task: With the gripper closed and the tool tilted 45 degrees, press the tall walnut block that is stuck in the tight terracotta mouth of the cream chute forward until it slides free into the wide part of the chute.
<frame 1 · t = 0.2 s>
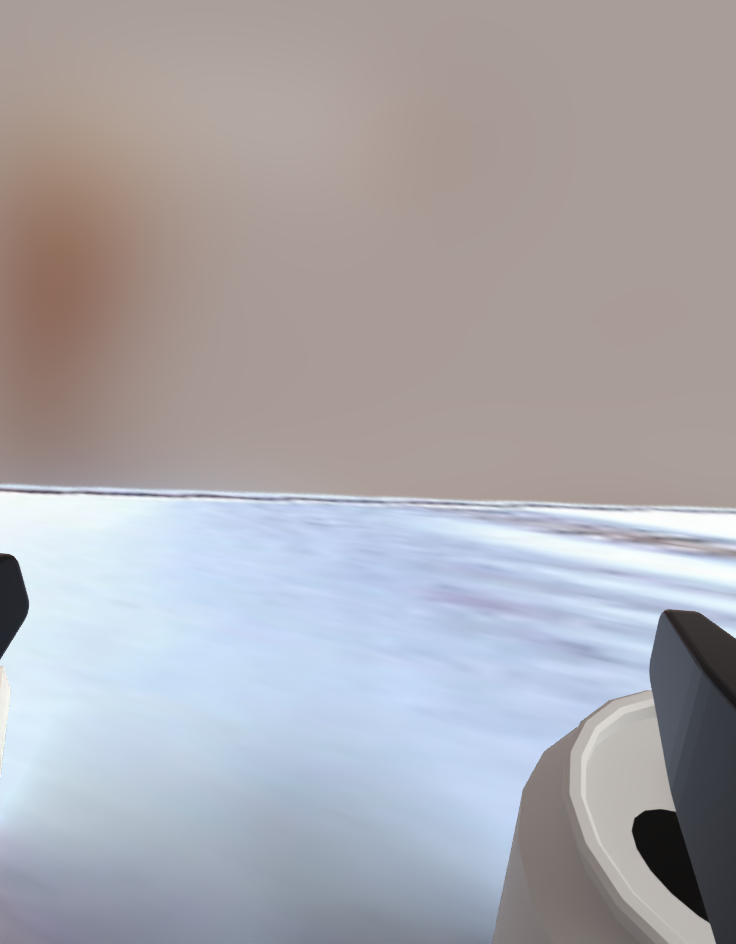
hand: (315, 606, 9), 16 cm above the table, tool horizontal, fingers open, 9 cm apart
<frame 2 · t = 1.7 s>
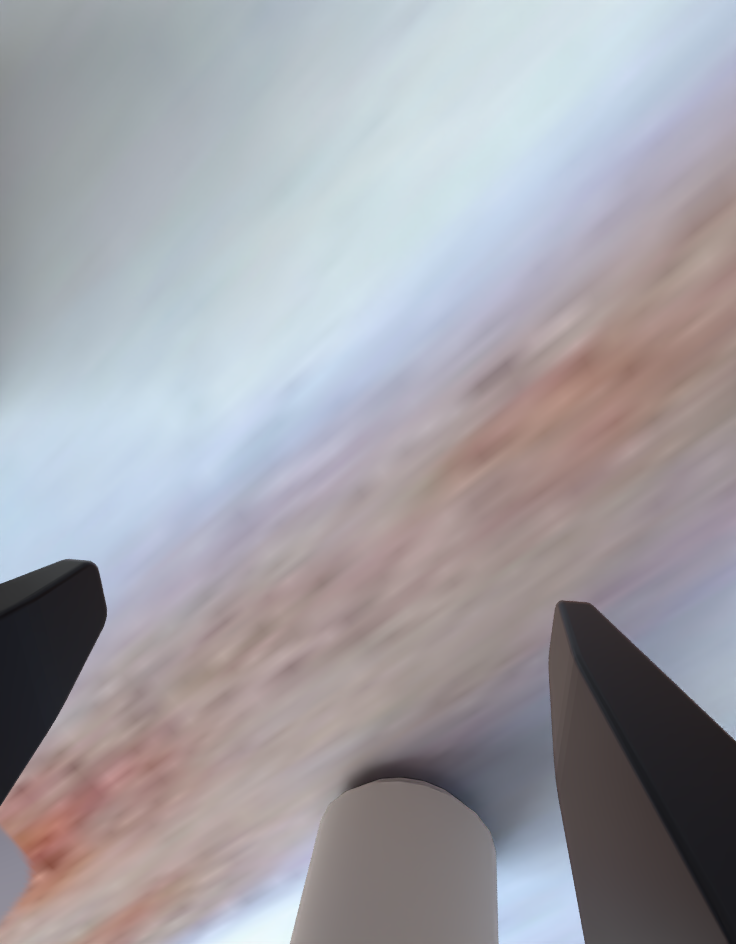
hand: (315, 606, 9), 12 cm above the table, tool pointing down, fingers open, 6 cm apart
can: (408, 822, 28), on the table
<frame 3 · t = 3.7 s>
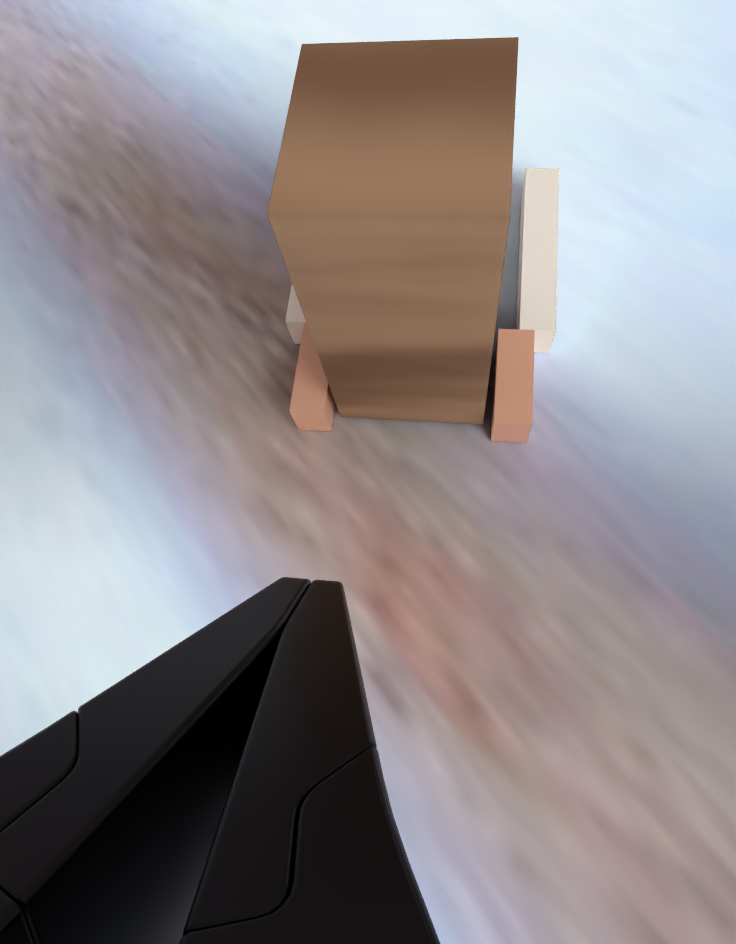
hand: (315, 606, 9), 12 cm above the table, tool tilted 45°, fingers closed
block: (409, 269, 19), point 5 cm above the table, slide at 0.0 cm
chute: (416, 360, 23), on the table
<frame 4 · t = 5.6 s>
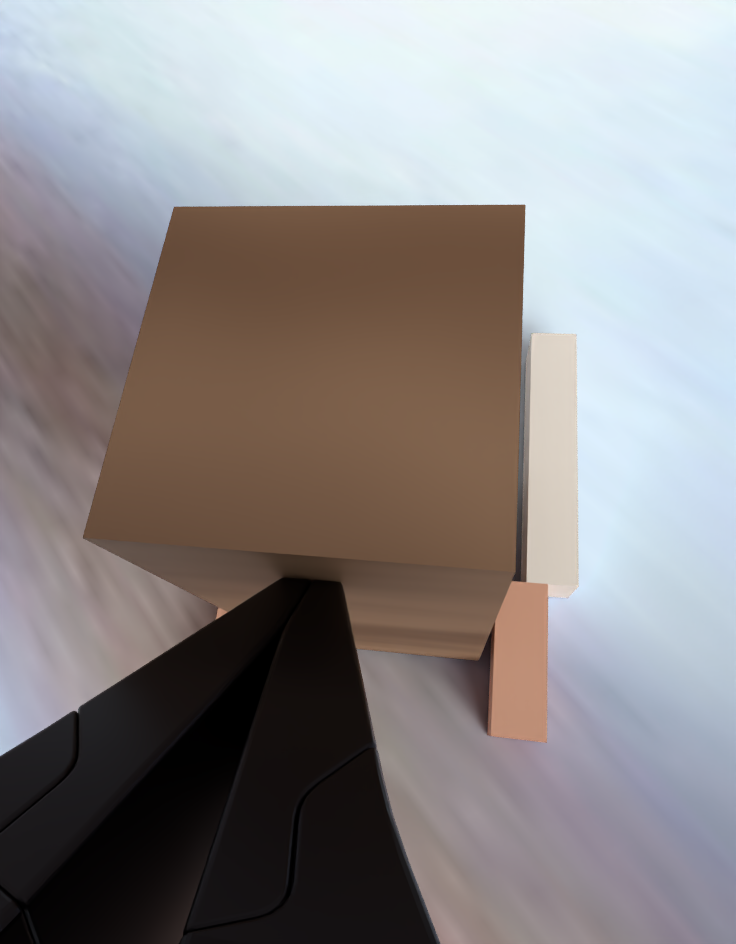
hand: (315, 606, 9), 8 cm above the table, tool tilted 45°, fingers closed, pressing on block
block: (366, 493, 13), point 5 cm above the table, slide at 1.2 cm, touching gripper
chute: (385, 601, 17), on the table
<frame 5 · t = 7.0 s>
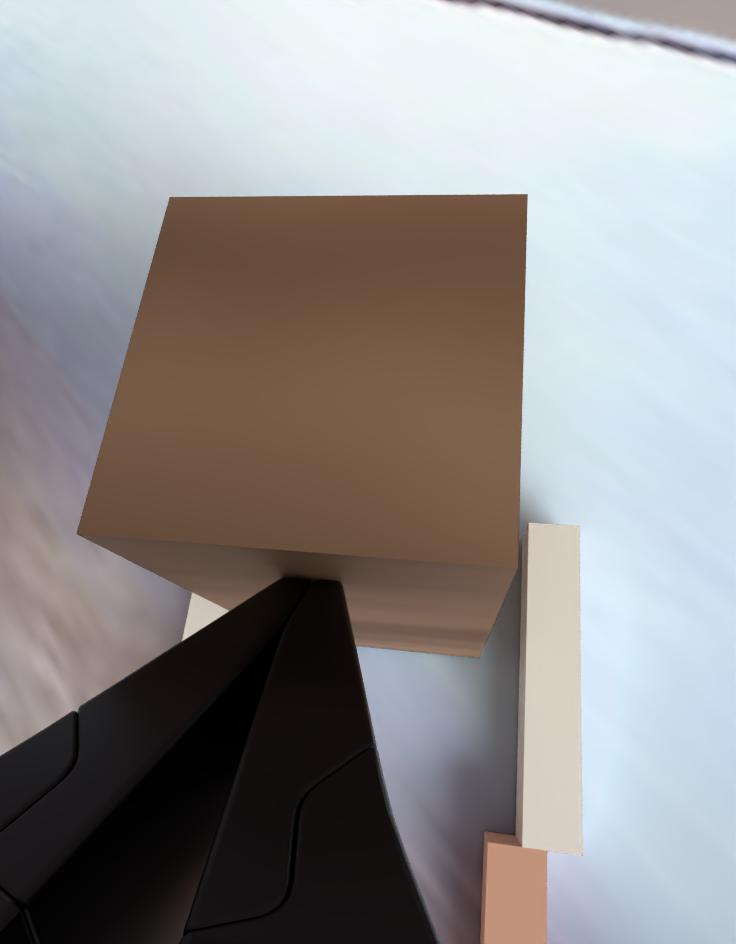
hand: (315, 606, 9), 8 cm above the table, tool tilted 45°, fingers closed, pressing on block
block: (366, 489, 13), point 5 cm above the table, slide at 6.8 cm, touching gripper
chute: (361, 838, 15), on the table
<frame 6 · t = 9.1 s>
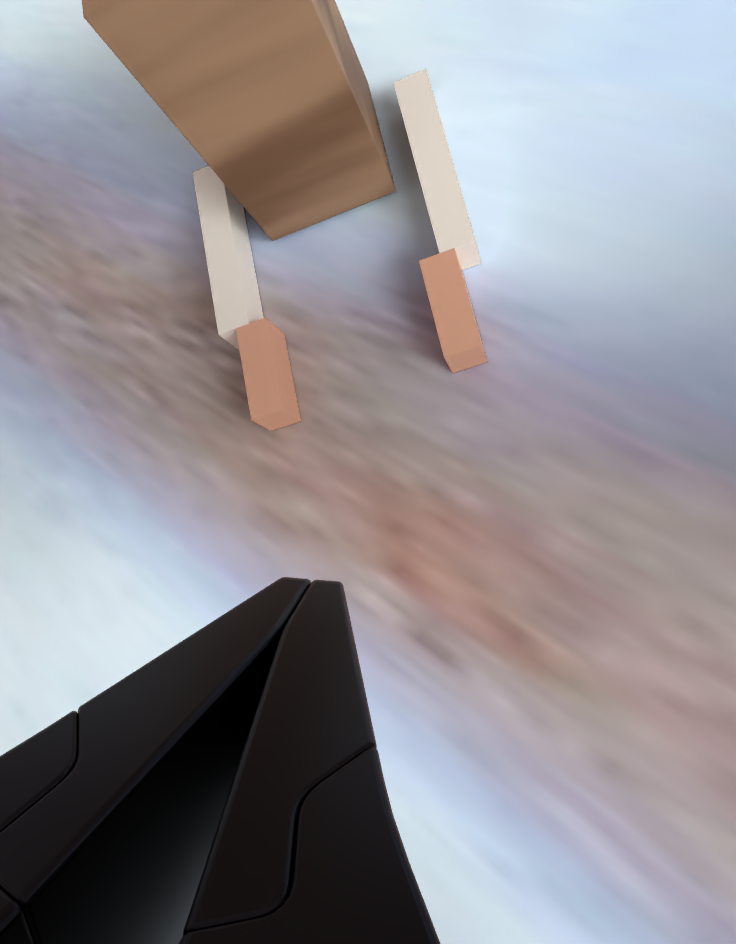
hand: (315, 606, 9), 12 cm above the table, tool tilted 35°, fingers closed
block: (259, 57, 20), point 5 cm above the table, slide at 6.8 cm
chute: (357, 321, 23), on the table
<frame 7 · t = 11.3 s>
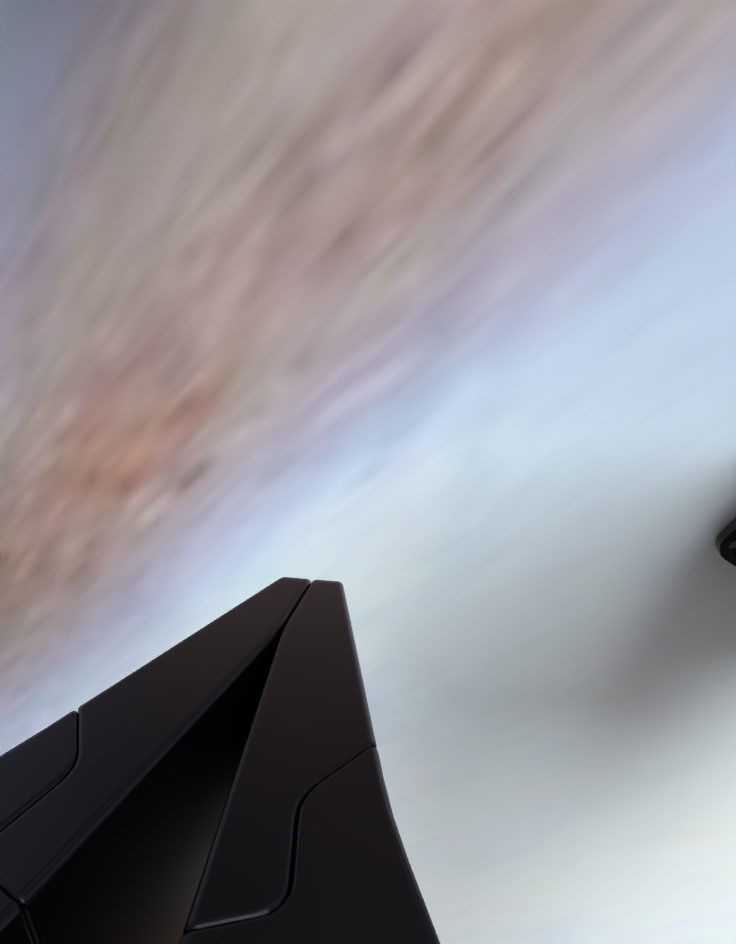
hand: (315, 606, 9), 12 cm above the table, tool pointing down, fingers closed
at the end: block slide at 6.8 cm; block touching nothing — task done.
